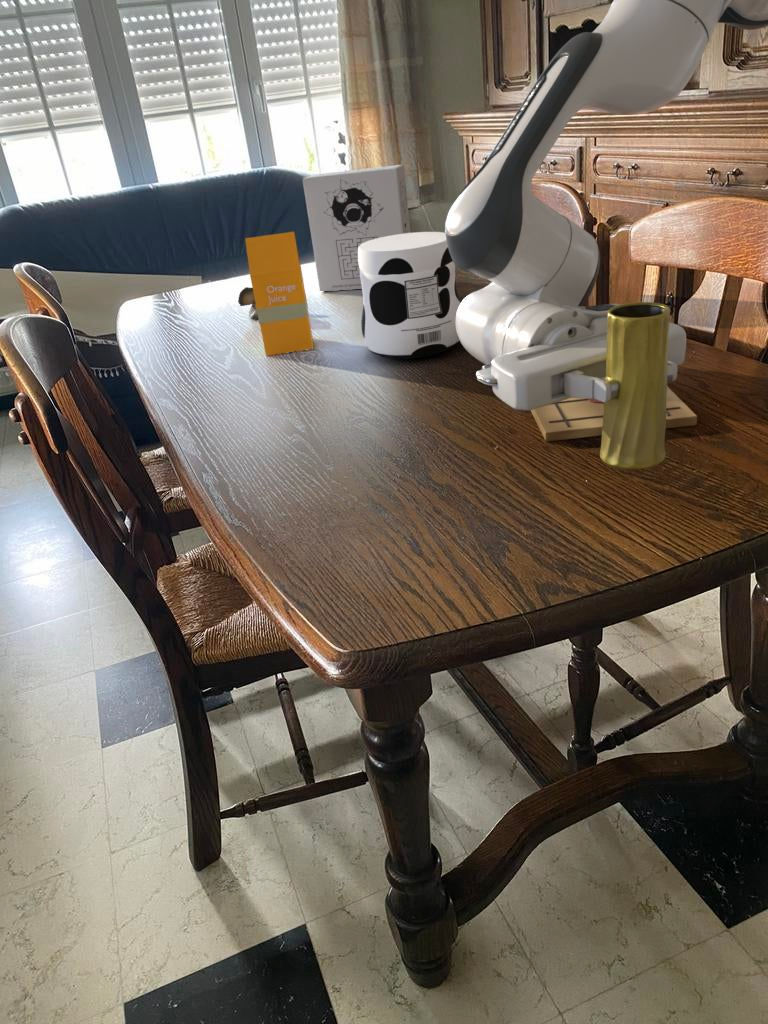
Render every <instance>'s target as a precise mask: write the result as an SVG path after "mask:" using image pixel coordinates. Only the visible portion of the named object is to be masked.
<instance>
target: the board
mask: <svg viewBox="0 0 768 1024" xmlns="http://www.w3.org/2000/svg"><path fill="white" fill-rule="evenodd" d="M530 413H531V415H532V416H533V419H534V420H535V423H536V425H537V426H538V427H537V428H538V429H539V431H540V433H541V435H542V437H543V439H544V441H545V443H547V442H555V441H556V442H557V441H565V440H572V439H573V440H574V439H584V438H593V437H602V426H603V413H604V402H601V401H599V400H597V399H594V398H593V399H590V398H569V399H566V400H563V401H559V402H556V403H553V404H549V405H546V406H543V407H539V408H536V409H533V410H530ZM697 424H698V415H697V414H695V412H693V410H691V408H690V407H688V405H687V404H686V403H684V402H683V400H682V399H681V398H680V397H678V395H677V394H676V393H675V392H674V391H673V390H672V389H671V388H670V387H669V386H667V400H666V429H673V428H674V429H675V428H681V427H693V426H697Z"/></svg>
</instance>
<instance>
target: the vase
mask: <svg viewBox="0 0 768 1024" xmlns="http://www.w3.org/2000/svg"><path fill="white" fill-rule="evenodd" d="M670 318H671V308H670V307H669V306H668V305H666V304H664V303H660V302H653V301H652V302H651V301H639V302H638V301H636V302H627V303H622V304H621V305H617V306H615V307H612V308H610V309H609V310H608V319H607V354H606V376H608V377H610V378H612V379H615V380H617V381H618V382H619V385H620V386H619V390H618V392H619V397H618V398H616V399H613V400H610V401H607V402H604V413H603V426H602V436H601V442H600V443H601V444H600V451H599V458H600V460H601V461H602V462H603V463H604V464H607V466H611V467H614V468H616V469H620V470H621V469H622V470H645V469H650V468H654V467H656V466H658V465H660V464H661V463H663V462H664V461H665V460H666V458H667V451H666V447H665V446H666V444H665V442H666V430H667V428H666V400H667V387H668V383H667V373H668V340H669V322H670V320H671V319H670Z"/></svg>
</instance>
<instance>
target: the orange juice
mask: <svg viewBox="0 0 768 1024" xmlns="http://www.w3.org/2000/svg"><path fill="white" fill-rule="evenodd" d="M244 241H245V249H246V255H247V262H248V270H249V278H250V282H251V288H253V292H254V297H255V302H256V307H257V314H258V319H259V321H258V323H259V327H260V332H261V338H262V342H263V348H264V353H265V356H266V357H269V356H268V355H271V356H276V355H275V354H278V355H282V354H281V353H285V354H288V353H287V352H292V353H295V352H294V351H299V352H302V351H301V350H306V349H312V348H313V349H314V338H313V331H312V326H311V319H310V313H309V306H308V300H307V293H306V290H305V283H304V277H303V271H302V265H301V260H300V256H299V250H298V246H297V241H296V234H295V231H288V232H281V233H274V234H265V235H260V236H252V237H245V238H244ZM306 351H307V350H306Z"/></svg>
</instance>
